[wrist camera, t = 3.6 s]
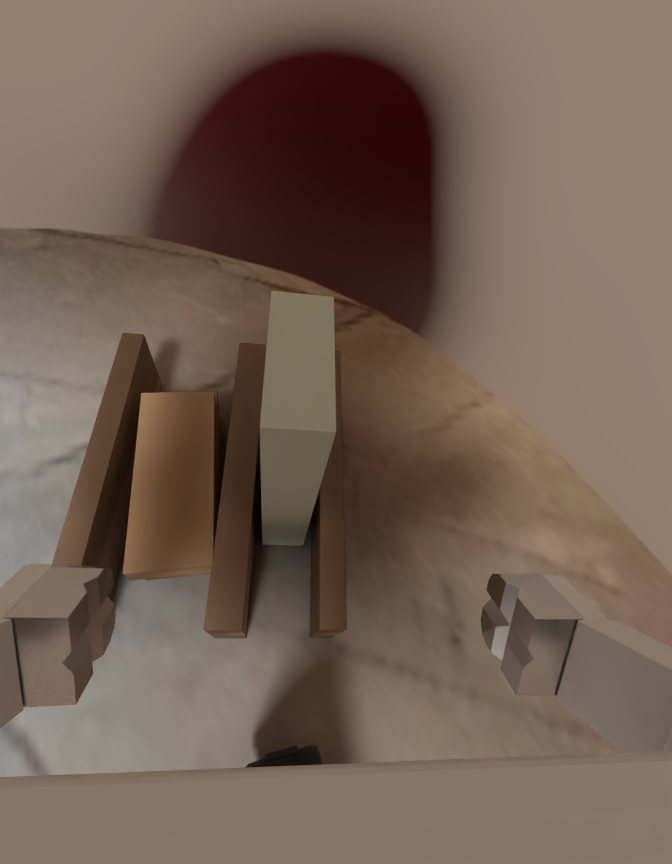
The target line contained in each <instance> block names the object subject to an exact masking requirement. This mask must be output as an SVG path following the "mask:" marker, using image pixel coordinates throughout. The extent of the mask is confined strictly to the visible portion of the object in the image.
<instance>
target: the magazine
mask: <svg viewBox="0 0 672 864" xmlns="http://www.w3.org/2000/svg"><path fill="white" fill-rule="evenodd" d="M264 756H265V759H263V760H260V761H257V762H253V763H250V764H248V765H247V766H246V767H245V768H249V767H273V766H298V765H322V761H321V758H320V755H319V752H318V749H317V746H314V745H310V746H307V747H304V748H300V749H297V745H296V746H293V747H289V748H286V749H283V750H279V751H276V752H272V753H269V754H266V755H264Z"/></svg>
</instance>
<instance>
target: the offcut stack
mask: <svg viewBox="0 0 672 864" xmlns="http://www.w3.org/2000/svg"><path fill="white" fill-rule="evenodd" d="M220 497H221V420H220V415H219V402H218V396H217V392H214V391H202V392H160V393H141V402H140V411H139V421H138V431H137V440H136V450H135V460H134V469H133V479H132V489H131V498H130V508H129V518H128V527H127V537H126V547H125V556H124V566H123V575H125V576H126V577H128V578H129V579H131V580H137V579H145V580H153V579H163V578H173V577H183V576H192V575H202V574H211V569H212V561H213V553H214V545H215V537H216V529H217V521H218V513H219V505H220Z"/></svg>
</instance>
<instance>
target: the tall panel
mask: <svg viewBox="0 0 672 864" xmlns="http://www.w3.org/2000/svg"><path fill="white" fill-rule="evenodd" d="M335 434H336V394H335V334H334V297H329V296H319V295H309V294H300V293H290V292H280V291H271V300H270V311H269V323H268V335H267V347H266V359H265V370H264V382H263V394H262V406H261V417H260V464H261V506H262V545H303V543H304V540H305V536H306V533H307V529H308V526H309V523H310V519H311V516H312V512H313V509H314V506H315V502H316V499H317V495H318V492H319V489H320V485H321V482H322V478H323V475H324V472H325V468H326V465H327V461H328V458H329V455H330V451H331V448H332V444H333V441H334V438H335Z"/></svg>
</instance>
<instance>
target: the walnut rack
mask: <svg viewBox="0 0 672 864" xmlns="http://www.w3.org/2000/svg"><path fill="white" fill-rule="evenodd" d="M265 359H266V345H262V344H250V343H240V345H239V353H238V361H237V369H236V377H235V385H234V393H233V401H232V409H231V417H230V425H229V433H228V441H227V449H226V457H225V465H224V473H223V481H222V489H221V497H220V505H219V513H218V521H217V529H216V537H215V545H214V553H213V561H212V569H211V577H210V585H209V593H208V601H207V609H206V617H205V625H204V630H205V631H206V632H208V633H209V634H210V635H212V636H213V637H215V638H246V636H247V623H248V611H249V598H250V586H251V574H252V561H253V549H254V536H255V524H256V511H257V499H258V486H259V474H260V417H261V406H262V394H263V382H264V370H265ZM160 388H161V381H160V378H159V375H158V373H157V370H156V367H155V364H154V361H153V359H152V356H151V353H150V350H149V347H148V345H147V342H146V339H145V336H144V335H142V334H130V333H122V336H121V340H120V343H119V346H118V350H117V353H116V356H115V359H114V363H113V366H112V369H111V372H110V376H109V379H108V382H107V386H106V389H105V392H104V395H103V399H102V402H101V405H100V408H99V412H98V415H97V418H96V422H95V425H94V428H93V431H92V435H91V438H90V441H89V444H88V448H87V451H86V454H85V458H84V461H83V464H82V467H81V471H80V474H79V477H78V480H77V484H76V487H75V490H74V494H73V497H72V500H71V503H70V507H69V510H68V513H67V516H66V520H65V523H64V526H63V530H62V533H61V536H60V539H59V543H58V546H57V549H56V552H55V556H54V559H53V562H52V565H76V566H103V567H109V568H110V569H111V570H112V573H113V583H114V586H113V587H112V589H111V591H110V592H109V594H108V595H107V596H108V597H109V599H110V600H111V601H112V598H113V594H114V590H115V585H116V581H117V576H118V572H119V568H120V563H121V559H122V555H123V550H124V546H125V541H126V537H127V527H128V518H129V508H130V498H131V489H132V479H133V469H134V460H135V450H136V440H137V431H138V421H139V411H140V402H141V393H160ZM335 394H336V434H335V438H334V441H333V444H332V448H331V451H330V455H329V458H328V461H327V465H326V468H325V472H324V475H323V478H322V482H321V485H320V489H319V492H318V495H317V499H316V502H315V506H314V509H313V512H312V520H311V591H310V638H314V637H333V636H335V635H337V634H339V633H341V632H343V631H345V630H347V622H346V581H345V540H344V499H343V458H342V417H341V376H340V351H335Z"/></svg>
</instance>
